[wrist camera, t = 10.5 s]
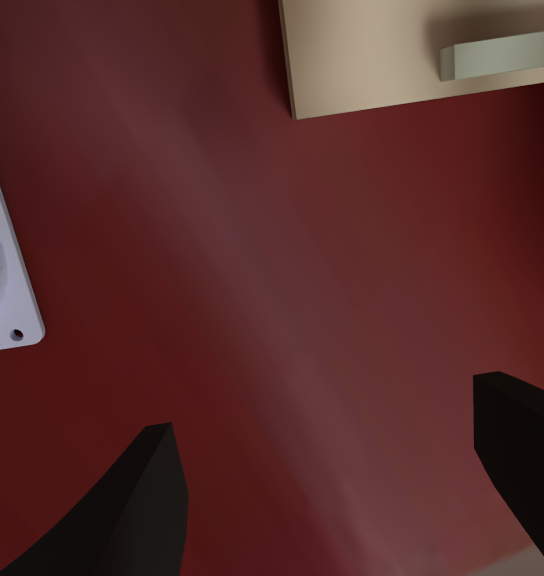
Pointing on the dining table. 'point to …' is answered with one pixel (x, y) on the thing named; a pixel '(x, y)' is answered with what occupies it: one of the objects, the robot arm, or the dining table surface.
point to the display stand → (406, 50)
